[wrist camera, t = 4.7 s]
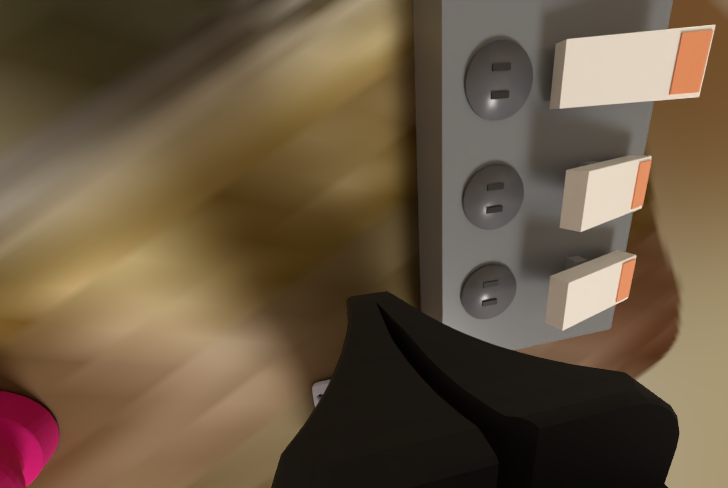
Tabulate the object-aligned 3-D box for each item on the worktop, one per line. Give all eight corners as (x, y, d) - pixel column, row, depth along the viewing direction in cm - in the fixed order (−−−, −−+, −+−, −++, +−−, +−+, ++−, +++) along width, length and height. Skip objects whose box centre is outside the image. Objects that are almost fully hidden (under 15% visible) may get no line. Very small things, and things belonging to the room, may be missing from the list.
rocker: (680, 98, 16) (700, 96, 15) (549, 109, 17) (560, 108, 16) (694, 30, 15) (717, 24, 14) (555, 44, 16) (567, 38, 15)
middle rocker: (620, 205, 20) (642, 208, 19) (559, 227, 17) (582, 232, 16) (629, 155, 19) (653, 155, 18) (566, 170, 16) (590, 171, 15)
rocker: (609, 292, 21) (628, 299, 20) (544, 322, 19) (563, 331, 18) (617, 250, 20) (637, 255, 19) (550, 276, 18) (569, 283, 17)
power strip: (570, 303, 26) (620, 334, 22) (421, 333, 24) (447, 373, 20) (613, -7, 19) (696, -42, 15) (412, -4, 17) (449, -43, 13)
